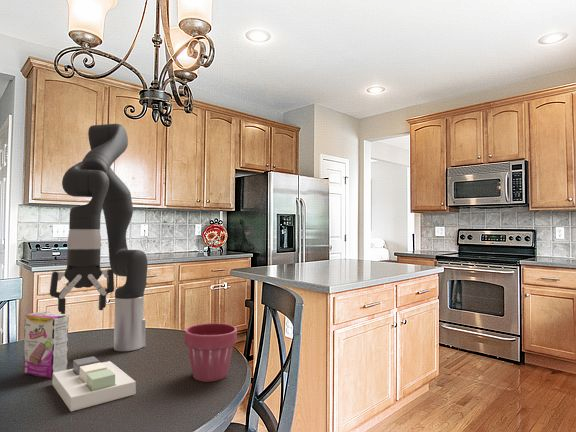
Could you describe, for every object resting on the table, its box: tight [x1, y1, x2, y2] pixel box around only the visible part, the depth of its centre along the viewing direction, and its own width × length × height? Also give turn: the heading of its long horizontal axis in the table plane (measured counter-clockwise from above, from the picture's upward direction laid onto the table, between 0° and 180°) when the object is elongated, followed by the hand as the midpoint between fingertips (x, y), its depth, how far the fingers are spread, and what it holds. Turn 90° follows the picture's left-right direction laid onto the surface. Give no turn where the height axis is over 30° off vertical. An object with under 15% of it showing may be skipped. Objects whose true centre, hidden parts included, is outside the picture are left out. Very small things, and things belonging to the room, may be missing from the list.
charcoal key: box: [72, 356, 100, 375], centre depth 102 cm, size 5×5×3 cm
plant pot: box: [183, 322, 238, 383], centre depth 107 cm, size 14×14×13 cm
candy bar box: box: [22, 311, 69, 380], centre depth 108 cm, size 11×5×16 cm, turn 71°
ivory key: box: [79, 361, 107, 383], centre depth 97 cm, size 5×5×3 cm
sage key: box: [86, 369, 115, 391], centre depth 92 cm, size 5×5×3 cm
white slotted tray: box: [51, 360, 137, 412], centre depth 97 cm, size 14×20×3 cm
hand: (82, 311), depth 98 cm, fingers open, 8 cm apart
